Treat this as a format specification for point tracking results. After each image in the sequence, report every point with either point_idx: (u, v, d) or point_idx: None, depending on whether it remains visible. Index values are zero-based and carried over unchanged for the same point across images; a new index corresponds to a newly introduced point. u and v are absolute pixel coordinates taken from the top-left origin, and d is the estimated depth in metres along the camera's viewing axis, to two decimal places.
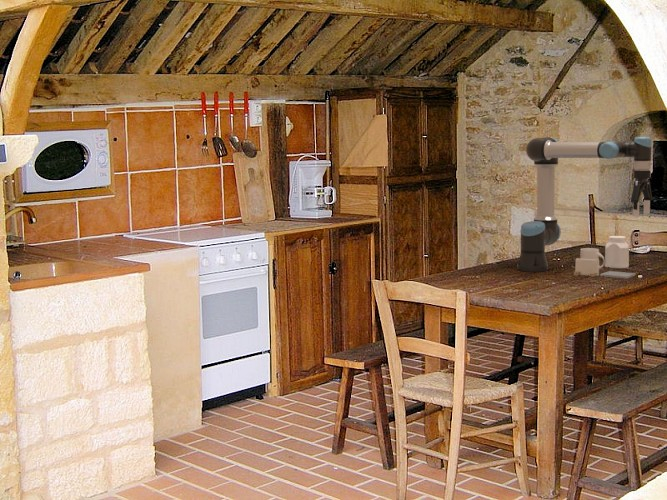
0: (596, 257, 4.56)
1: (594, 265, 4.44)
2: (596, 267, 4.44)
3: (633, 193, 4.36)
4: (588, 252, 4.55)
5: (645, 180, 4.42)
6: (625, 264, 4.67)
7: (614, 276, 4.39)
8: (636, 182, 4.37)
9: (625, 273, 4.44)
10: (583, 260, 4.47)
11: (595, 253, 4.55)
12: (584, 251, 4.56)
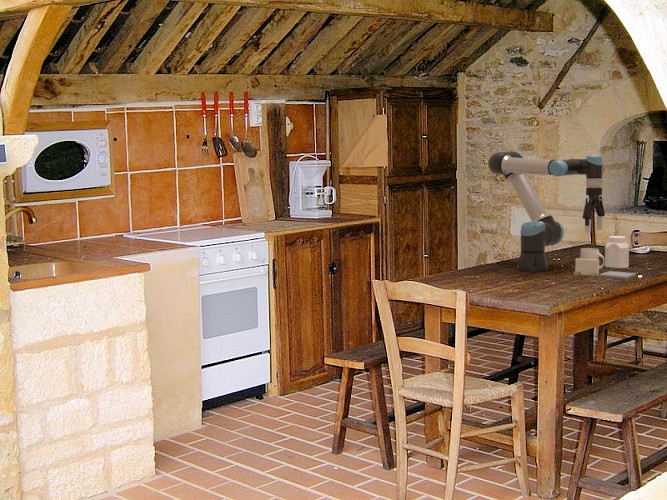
0: (596, 257, 4.56)
1: (594, 265, 4.44)
2: (596, 267, 4.44)
3: (585, 210, 4.48)
4: (588, 252, 4.55)
5: (597, 197, 4.55)
6: (625, 264, 4.67)
7: (614, 276, 4.39)
8: (588, 199, 4.49)
9: (625, 273, 4.44)
10: (583, 260, 4.47)
11: (595, 253, 4.55)
12: (584, 251, 4.56)
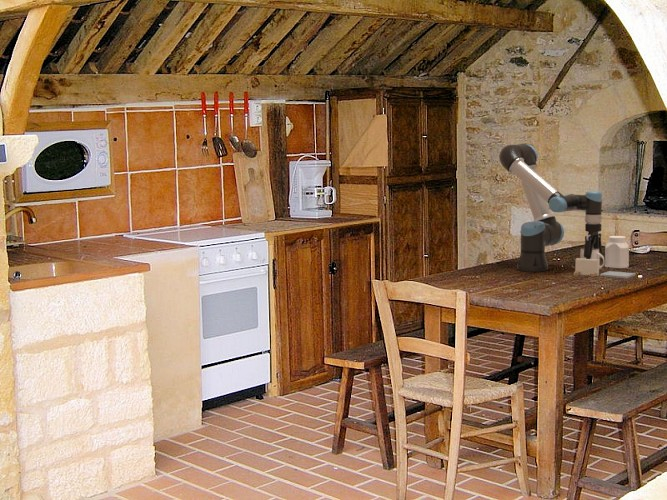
0: (596, 257, 4.56)
1: (594, 265, 4.44)
2: (596, 267, 4.44)
3: (585, 248, 4.52)
4: None
5: (596, 232, 4.57)
6: (625, 264, 4.67)
7: (614, 276, 4.39)
8: (587, 237, 4.51)
9: (625, 273, 4.44)
10: (583, 260, 4.47)
11: (595, 253, 4.55)
12: None
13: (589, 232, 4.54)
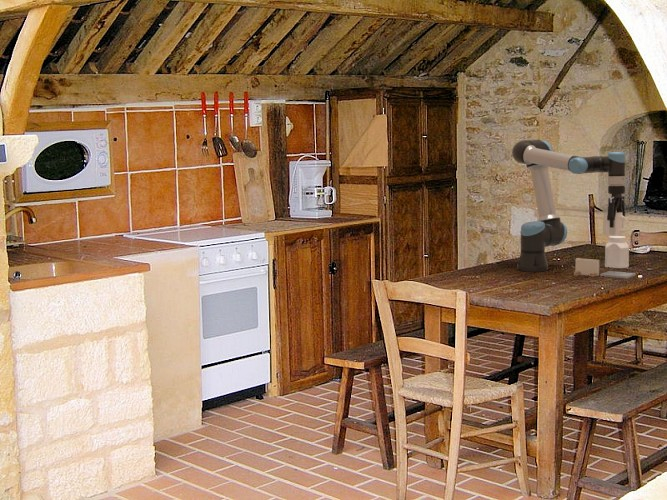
0: (620, 220, 4.40)
1: (594, 265, 4.44)
2: (596, 267, 4.44)
3: (609, 211, 4.36)
4: None
5: (620, 194, 4.41)
6: (625, 264, 4.67)
7: (614, 276, 4.39)
8: (610, 199, 4.35)
9: (625, 273, 4.44)
10: (583, 260, 4.47)
11: (619, 216, 4.39)
12: (607, 214, 4.40)
13: (612, 194, 4.38)
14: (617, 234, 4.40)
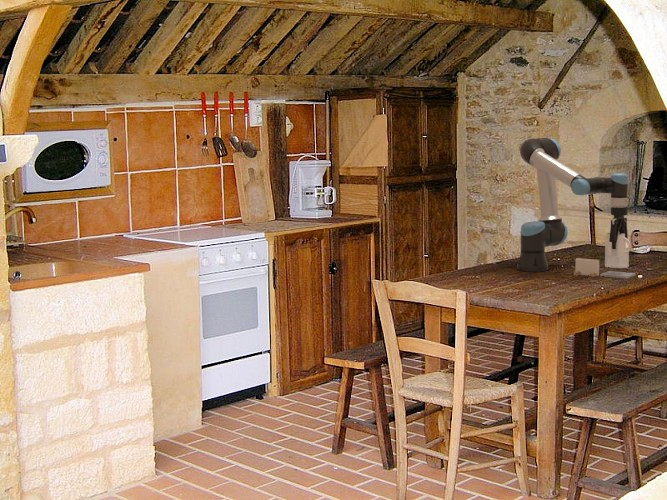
0: (622, 242, 4.39)
1: (594, 265, 4.44)
2: (596, 267, 4.44)
3: (611, 233, 4.36)
4: None
5: (622, 216, 4.41)
6: (625, 264, 4.67)
7: (614, 276, 4.39)
8: (613, 221, 4.35)
9: (625, 273, 4.44)
10: (583, 260, 4.47)
11: (621, 237, 4.39)
12: None
13: (615, 216, 4.37)
14: (619, 255, 4.40)
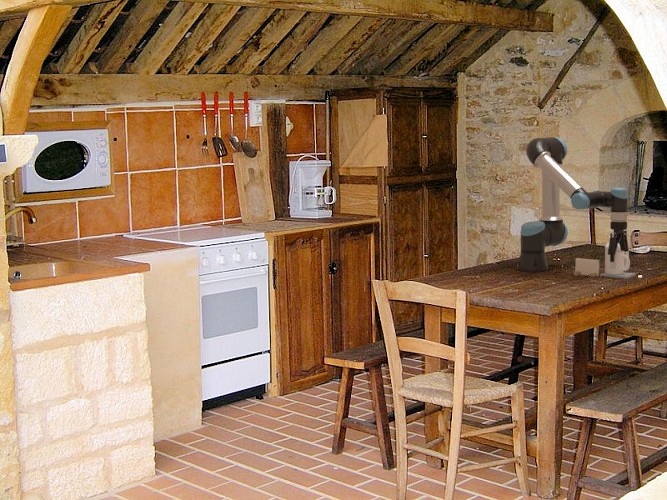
0: (621, 259, 4.40)
1: (594, 265, 4.44)
2: (596, 267, 4.44)
3: (610, 245, 4.36)
4: None
5: (622, 230, 4.42)
6: None
7: (614, 276, 4.39)
8: (613, 234, 4.36)
9: (625, 273, 4.44)
10: (583, 260, 4.47)
11: (620, 255, 4.40)
12: None
13: (615, 230, 4.39)
14: (618, 273, 4.41)
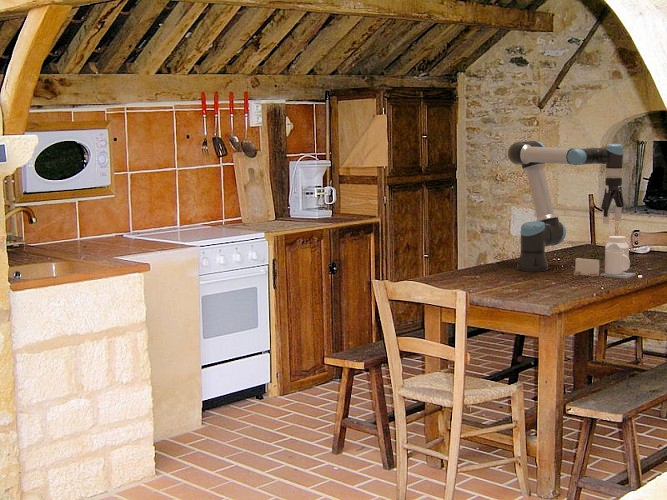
0: (621, 259, 4.40)
1: (594, 265, 4.44)
2: (596, 267, 4.44)
3: (604, 200, 4.38)
4: (613, 254, 4.40)
5: (616, 187, 4.44)
6: (625, 264, 4.67)
7: (614, 276, 4.39)
8: (607, 189, 4.38)
9: (625, 273, 4.44)
10: (583, 260, 4.47)
11: (620, 255, 4.40)
12: (609, 253, 4.41)
13: None
14: (618, 273, 4.41)
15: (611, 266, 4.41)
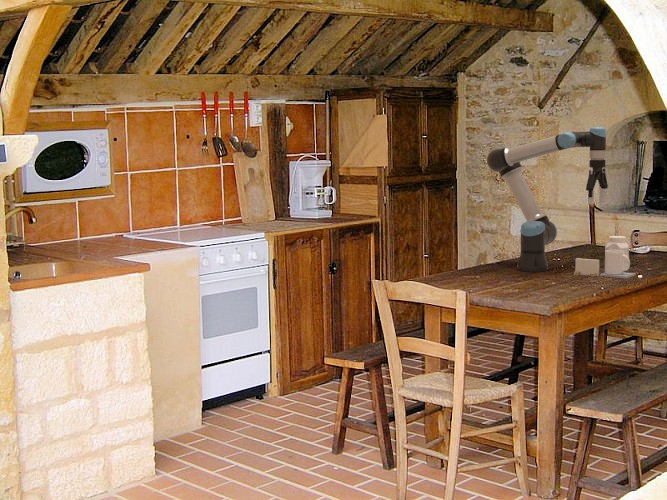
0: (621, 259, 4.40)
1: (594, 265, 4.44)
2: (596, 267, 4.44)
3: (588, 181, 4.52)
4: (613, 254, 4.40)
5: (600, 169, 4.58)
6: (625, 264, 4.67)
7: (614, 276, 4.39)
8: (591, 171, 4.52)
9: (625, 273, 4.44)
10: (583, 260, 4.47)
11: (620, 255, 4.40)
12: (609, 253, 4.41)
13: None
14: (618, 273, 4.41)
15: (611, 266, 4.41)
